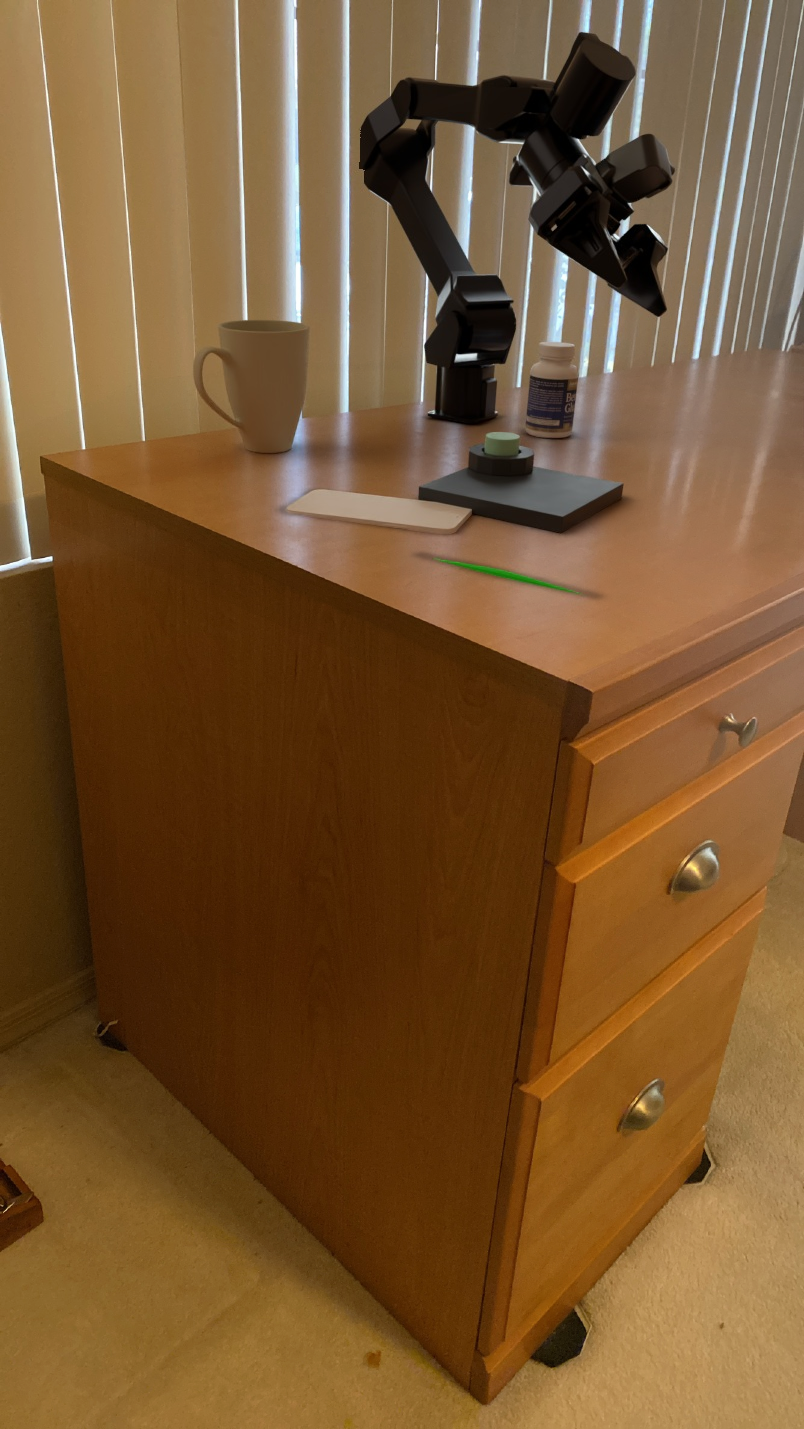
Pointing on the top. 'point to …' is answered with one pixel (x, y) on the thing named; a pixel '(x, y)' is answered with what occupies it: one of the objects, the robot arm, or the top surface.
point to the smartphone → (381, 511)
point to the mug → (261, 379)
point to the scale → (522, 491)
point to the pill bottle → (552, 391)
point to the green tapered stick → (506, 575)
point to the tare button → (502, 443)
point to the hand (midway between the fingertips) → (643, 299)
